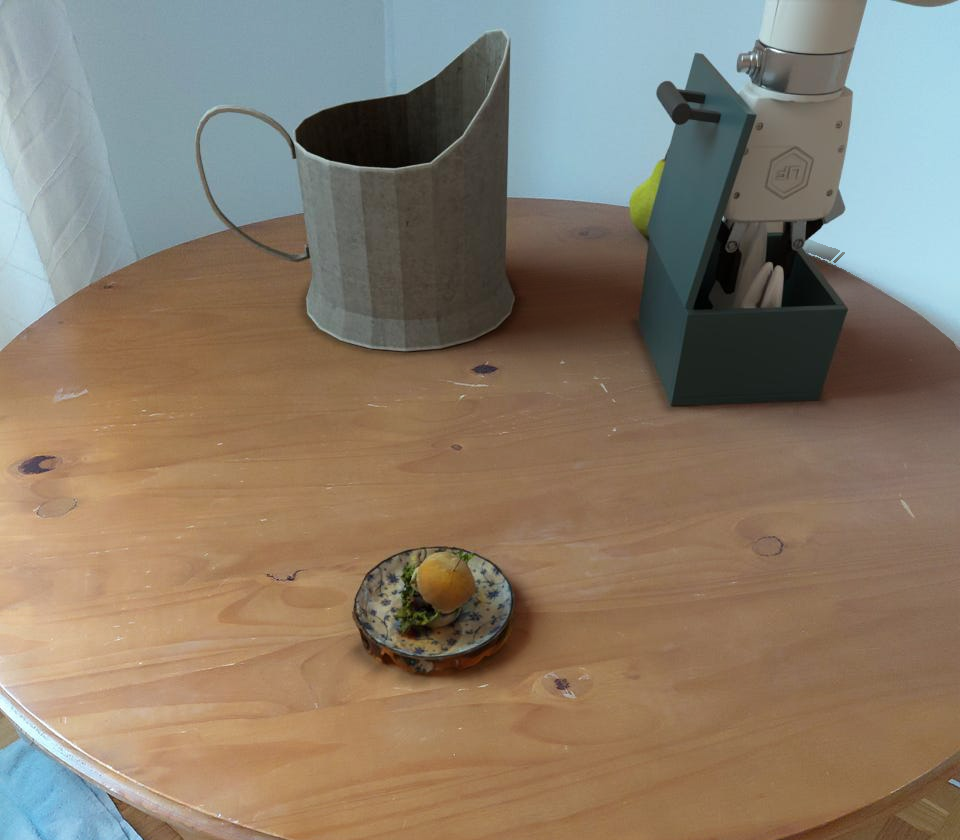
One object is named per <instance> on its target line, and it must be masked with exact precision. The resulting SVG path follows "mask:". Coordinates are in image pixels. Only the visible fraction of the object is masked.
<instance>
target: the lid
mask: <svg viewBox="0 0 960 840" xmlns="http://www.w3.org/2000/svg"><path fill="white" fill-rule="evenodd" d="M655 93H656V94H655V95H656V98H657V100H658V102H659V103H660V104H661V106H662V108H663V109H664V110H665V112H666V113H667V115H668V116H669V118H670V119H671V121H672V122H673V123H674V129H673V131H672V135H671V139H670V144H669V146H668V148H669V150H668V149H667V150H668V154H667V157H666V161H665V165H664V168H663V172H662V176H661V179H660V183H659V187H658V190H657V194H656V198H655V201H654V205H653V209H652V212H651V216H650V220H649V223H648V227H647V232H648V235H649V237H650V239H651V241H652V243H653V245H654V247H655V249H656V251H657V253H658V255H659V257H660V259H661V261H662V263H663V265H664V267H665V270H666V272H667V274H668V276H669V278H670V280H671V282H672V284H673V286H674V288H675V290H676V292H677V294H678V296H679V298H680V300H681V302H682V305H683V307H684V308H685V309H693V307H694V304H695V301H696V298H697V295H698V292H699V289H700V286H701V283H702V279H703V276H704V273H705V270H706V267H707V264H708V261H709V258H710V255H711V252H712V249H713V246H714V243H715V240H716V237H717V234H718V231H719V228H720V225H721V222H722V220H723V218H724V213H725V210H726V207H727V204H728V201H729V198H730V195H731V192H732V189H733V186H734V183H735V180H736V177H737V174H738V171H739V168H740V165H741V162H742V158H743V155H744V152H745V149H746V146H747V143H748V140H749V137H750V134H751V131H752V128H753V125H754V122H755V119H756V116H757V115H756V114H755V113H754V111H753V110H752V109H751V108H750V107H749V106H748V105H747V103H746V102H745V101H744V100H743V99H742V98H741V97H740V95H739V92H737V90H735V88H734V87H733V86H732V85H731V84H730V83H729V82H728V80H727V79H726V78H725V77H724V76H723V75H722V73H720V71H719V70H718V68H716V67H715V66H714V64H712V62H711V61H710V60H709V59H708V58H707V56H706V55H705V54H704V53H700V52H695V53H694V56H693V58H692V62H691V66H690V70H689V73H688V78H687V82H686V84H685V88H684V89H682V88H681V89H680V88H677V87H676V85H675V84H674V83H673V82H672V81H671V80H664V81H662V82H661V83H660V84H659V85H658V86H657V87H656V90H655Z"/></svg>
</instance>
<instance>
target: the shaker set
mask: <svg viewBox="0 0 960 840" xmlns="http://www.w3.org/2000/svg"><path fill="white" fill-rule="evenodd" d="M766 246H767V225H766V223H765V222H762V223H758V225H757V223H748V224H747V227H746V229H745V231H744V234H743V236H742V239H741V241H740V245H739V250H740V251H741V253H742V258H741V263H740V267H739V272H738V276H737V281H736V285H735V290H734V292H733V293H732V294H725V292H724V290H723V289H722V287H721V285H720V283H719V282H718V281H717V280H716V282H715V284H714V286H713V288H712V290H711V292H710V295H709V296H708V297H709V300H710V302H711V303H712V305H713V308H712V309H740V308H770V307H781V302H782V292H783V280H784V274H783V269H782V267H781V266H779V265H777V266H776V267H775V268H774V271H773V264H772V263H771V262H767V263H765V259H766Z"/></svg>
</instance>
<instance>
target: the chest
mask: <svg viewBox="0 0 960 840" xmlns="http://www.w3.org/2000/svg"><path fill="white" fill-rule="evenodd" d="M782 234H783V232H772V233H767V246H766V259H765V263H767V262H770V259H771V255H772V251H773V247H774V243H775V241H777V238H781V235H782ZM720 247H721V243H720V242H719V240H718V239H717V238H716V240H715V243H714V246H713V249H712V252H711V255H710V258H709V261H708V264H707V267H706V270H705V273H704V276H703V279H702V283H701V286H700V289H699V292H698V295H697V298H696V301H695V304H694V307H693V309H685V308H684V307H683V305H682V302H681V300H680V298H679V296H678V294H677V292H676V290H675V288H674V286H673V284H672V282H671V280H670V278H669V276H668V274H667V272H666V270H665V267H664V265H663V263H662V261H661V259H660V257H659V255H658V253H657V251H656V249H655V247H654V245H653V243H652V241H651V239H650V237H649V238H648V245H647V252H646V258H645V259H646V260H645V266H644V272H643V280H642V288H641V295H640V301H639V302H640V303H639V309H638V315H637V325H638V328H639V330H640V332H641V334H642V337H643V339H644V342H645V345H646V347H647V350H648V352H649V354H650V358H651V359H652V362H653V365H654V367H655V370H656V372H657V375H658V377H659V380H660V382H661V385H662V386H663V389H664V392H665V395H666V397H667V399H668V402H669V404H670V406H671V407H677V406H703V405H705V406H706V405H724V404H725V405H727V404H728V405H730V404H731V405H732V404H733V405H734V404H757V403H759V404H760V403H780V402H781V403H782V402H808V401H820V399H821V396H822V392H823V389H824V386H825V383H826V380H827V376H828V373H829V371H830V368H831V365H832V361H833V359H834V355H835V353H836V352H835V351H836V348H837V345H838V342H839V340H840V336H841V333H842V330H843V327H844V324H845V320H846V318H847V314H848V311H849V308H848V306H847V305H846V304H845V302H844V301H843V300H842V298H841V297H840V295H839V294H838V293H837V291H835V288H833V286H832V285H831V284H830V282H829V281H828V280H827V278H826V276H824V275H823V273H822V272H821V270H820V269H819V268H818V267H817V265H816V264H815V262H814V261H813V260H812V259H811V257H810V256H809V255H808V253H807V252H806V251H805V249H804V247H803V248H802V249H800V250H798V251H797V253H796V257H795V260H794V264H793V268H792V272H791V276H790V278H789V279H788V280H786V281H785V285H784V289H783V292H782V302H781V307H770V308H740V309H712V308H713V305H712V303H711V302H710V300H709V297H708V296H709V295H710V292H711V290H712V288H713V286H714V284H715V282H716V277H715V273H716V267H717V262H718V257H719V252H720Z"/></svg>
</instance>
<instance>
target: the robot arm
mask: <svg viewBox="0 0 960 840" xmlns="http://www.w3.org/2000/svg"><path fill="white" fill-rule="evenodd" d="M958 1H959V0H891V2H897V3H901V4H905V5H910V6H914V7H920V8H921V7H922V8H937V7H943V6H947V5H950V4H953V3H956V2H958ZM867 3H868V0H765V5H764V10H763V15H762V19H761V26H760V30H759V35H758V39H755V41H754V42H755V43H754V47H753V48H752V50H749V51H748V52H745V53H743V52H740V53H739V54H738V56H737V60H736V72H737V73H739V74H740V73H742V74H743V73H745V74H746V75H748V77H749V78H750V80H749V81H746V82H743V83H742V85H741V87H740V89H739V92H738V94H739V95H740V97H741V98H742V99H743V100H744V101H745V102H746V103H747V105H748V106H749V107H750V108H751V109H752V110H753V111H754V113H755V114H756V115H757V116H756V119H755V122H754V125H753V128H752V131H751V134H750V137H749V140H748V143H747V146H746V149H745V152H744V155H743V158H742V162H741V165H740V168H739V171H738V174H737V177H736V180H735V183H734V186H733V189H732V192H731V195H730V198H729V201H728V204H727V207H726V210H725V213H724V216H723V218H724V220H723V219H722V222H721V225H720V228H719V231H718V234H717V237H716V238H717V239H718V240H719V242H720V243H721V247H720V252H719V257H718V262H717V267H716V273H715V277H716V280H717V281H718V282H719V283H720V285H721V287H722V289H723V290H724V292H725V294H732V293H733V292H734V290H735V285H736V281H737V276H738V272H739V267H740V263H741V258H742V253H741V251H740V250H739V245H740V241H741V239H742V236H743V234H744V231H745V229H746V227H747V224H748V223H762V222H783V234H782V235H781V238H777V241H775V243H774V247H773V251H772V255H771V259H770V262H771V263H772V264H773V271H774V268H775V267H776V266H777V265H779V266H781V267H782V269H783V274H784V280H783V289H784V285H785V281H786V280H788V279H789V278H790V276H791V272H792V268H793V264H794V260H795V257H796V253H797V251H798V250H800V249H802V248H803V249H804V246H805V244H806V241H808V240H809V239H810V238H811V237H813V236H814V235H815V234H817V232H819V231H820V230H821V229H822V227H824V225H827V224H829V223H830V222H832V221H833V220H835V219H838V217H840V216H842V215H843V214H844V213H845V211H846V205H845V203H844V200H843V197H842V194H841V191H840V187H839V186H840V183H841V180H842V179H841V178H842V173H843V170H844V169H843V168H844V164H845V159H846V153H847V148H848V142H849V133H850V129H851V120H852V111H853V97H854V91H853V90H852V89H851V88H849V87H847V86H846V81H847V78H848V74H849V70H850V67H851V62H852V61H853V60H852V59H853V56H854V51H855V47H856V44H857V41H858V36H859V33H860V30H861V25H862V22H863V18H864V15H865V11H866V6H867Z"/></svg>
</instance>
